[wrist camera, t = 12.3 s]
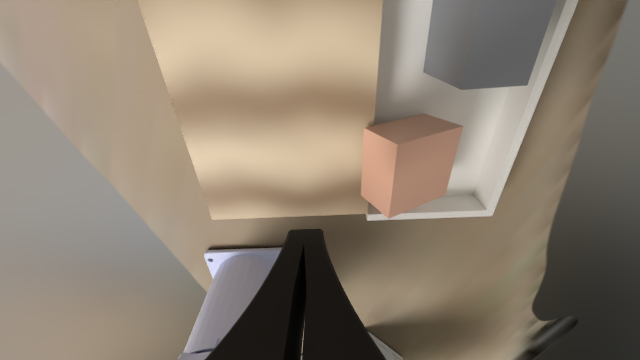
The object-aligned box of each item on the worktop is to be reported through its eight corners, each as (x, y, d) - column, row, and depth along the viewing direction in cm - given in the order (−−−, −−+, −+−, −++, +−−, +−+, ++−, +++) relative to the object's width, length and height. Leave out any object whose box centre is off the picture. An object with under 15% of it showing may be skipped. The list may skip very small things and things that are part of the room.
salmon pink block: (413, 176, 20) (445, 195, 18) (360, 194, 18) (388, 218, 16) (424, 113, 17) (463, 125, 15) (363, 127, 16) (397, 144, 13)
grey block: (423, 72, 16) (471, 68, 16) (461, 90, 12) (527, 85, 12) (437, -30, 13) (494, -34, 13) (492, -54, 9) (577, -61, 9)
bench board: (362, 195, 22) (367, 213, 20) (221, 201, 22) (211, 219, 20) (377, -57, 13) (388, -72, 11) (148, -45, 13) (117, -58, 11)
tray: (475, 197, 22) (492, 216, 20) (362, 201, 22) (367, 220, 20) (570, -83, 13) (620, -104, 11) (378, -73, 13) (390, -92, 11)
